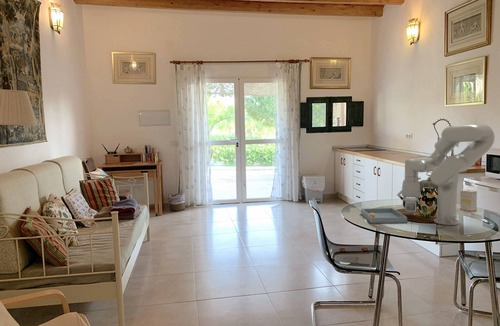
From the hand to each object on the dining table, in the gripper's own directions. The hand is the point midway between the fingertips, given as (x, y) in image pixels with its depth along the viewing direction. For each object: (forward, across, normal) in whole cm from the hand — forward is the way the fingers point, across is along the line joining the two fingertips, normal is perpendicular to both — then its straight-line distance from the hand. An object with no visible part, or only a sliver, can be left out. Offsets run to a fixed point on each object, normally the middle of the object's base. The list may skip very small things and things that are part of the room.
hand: (410, 207), depth 219 cm
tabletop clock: (+6, -14, -32) cm, 35 cm away
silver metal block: (+1, 0, 0) cm, 1 cm away
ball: (+3, +21, +16) cm, 27 cm away
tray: (+6, +15, +11) cm, 20 cm away
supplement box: (+5, -35, -24) cm, 43 cm away
